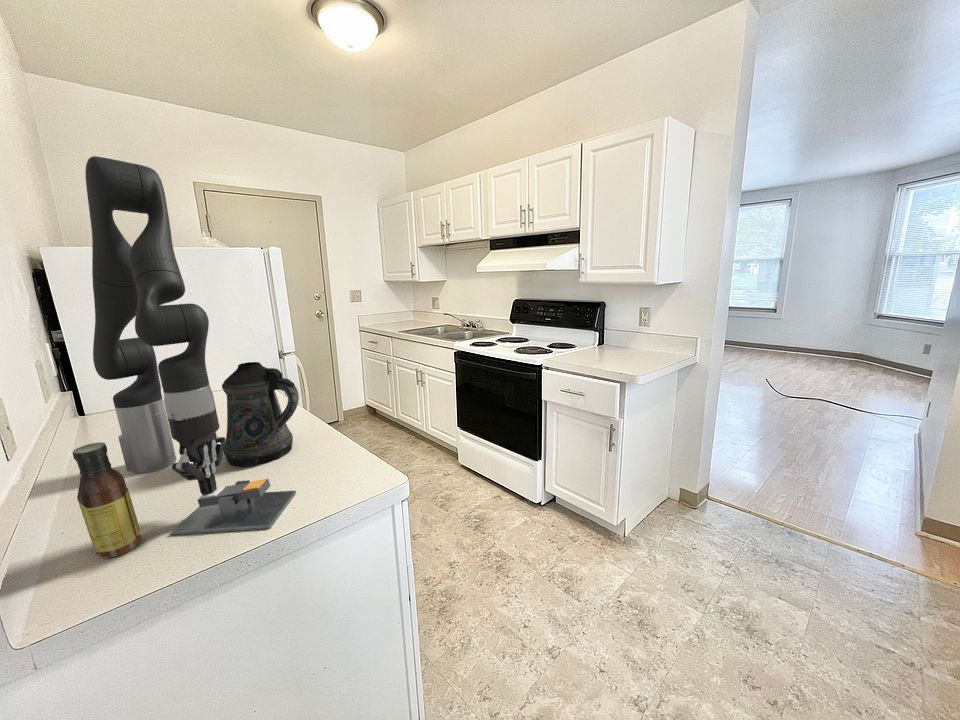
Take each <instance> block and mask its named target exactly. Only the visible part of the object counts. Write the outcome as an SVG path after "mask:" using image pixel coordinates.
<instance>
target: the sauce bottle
mask: <svg viewBox="0 0 960 720" xmlns="http://www.w3.org/2000/svg"><path fill="white" fill-rule="evenodd" d="M72 456H73V459H74V460H75V461H76V463H77V466H78V469H79V475H80V479H79V483H78V484H79V486H78V490H77V495H76V496H77V497H76V498H77V502H78V505H79V509H80V510H81V514H82V518H83V520H84V523H85V526H86V529H87V532H88V535H89V538H90V540H91V545H92V546H93V549H94V551H95V552H96V555H97V556H98V557H99V558H104V559H108V558H110V559H111V558H115V557H118V556H121V555H124V554H126V553H128V552H130V551H131V550H132V549H134V548H135V547H137V546H138V545H139V544H140V542H141V541H142V535H141V528H140V524H139V520H138V518H137V513H136V511H135V507H134V504H133V501H132V496H131V494H130V490H129V488H128V487H127V483H126V481H125V480H126V479H125V478H124V476H123V474H122V473H120V471H119V470H116V469H114V468H113V467H112V463H111V462H110V459H109V456H108V447H107V444H106V443H105V442H102V441H101V442H100V441H99V442H93V443H89V444H85V445H82V446H79V447H76V448H75V449H74V450H73V451H72Z"/></svg>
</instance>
